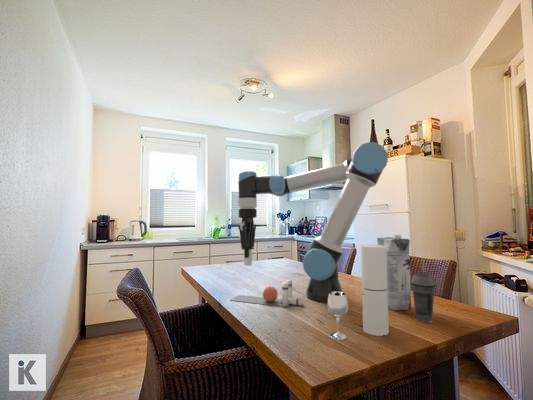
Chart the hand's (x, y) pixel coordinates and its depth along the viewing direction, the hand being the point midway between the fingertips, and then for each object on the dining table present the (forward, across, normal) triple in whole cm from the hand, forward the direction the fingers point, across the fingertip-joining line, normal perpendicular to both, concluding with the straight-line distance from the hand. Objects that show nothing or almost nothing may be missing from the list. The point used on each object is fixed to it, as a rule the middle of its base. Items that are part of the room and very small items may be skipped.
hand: (248, 265), depth 115 cm
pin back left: (+14, +2, +17) cm, 22 cm away
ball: (+11, 0, +10) cm, 15 cm away
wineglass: (+14, +23, +39) cm, 47 cm away
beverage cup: (+15, 0, +64) cm, 65 cm away
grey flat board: (+14, 0, +6) cm, 15 cm away
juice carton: (+15, -11, +56) cm, 59 cm away
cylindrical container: (+15, +15, +49) cm, 53 cm away
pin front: (+13, 0, +14) cm, 19 cm away
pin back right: (+14, -2, +17) cm, 22 cm away
